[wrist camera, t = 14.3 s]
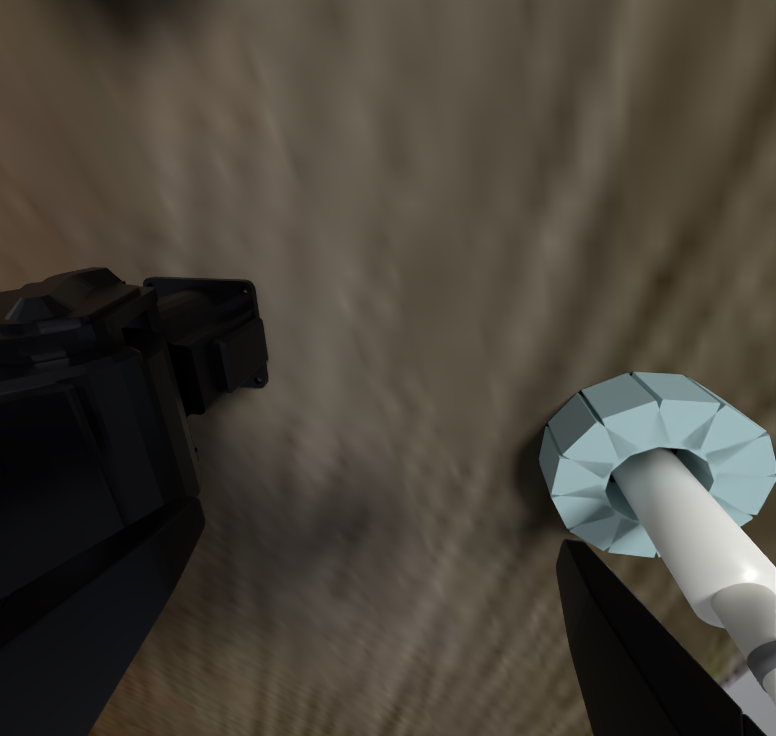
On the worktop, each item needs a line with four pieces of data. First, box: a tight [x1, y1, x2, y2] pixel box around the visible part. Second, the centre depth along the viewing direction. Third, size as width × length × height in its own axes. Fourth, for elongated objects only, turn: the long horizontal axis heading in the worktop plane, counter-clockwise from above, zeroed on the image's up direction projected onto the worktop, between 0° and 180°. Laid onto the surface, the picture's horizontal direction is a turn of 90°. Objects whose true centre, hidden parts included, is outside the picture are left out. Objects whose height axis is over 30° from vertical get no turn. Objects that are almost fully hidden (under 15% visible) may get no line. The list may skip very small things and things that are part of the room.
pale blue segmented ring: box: [539, 372, 776, 558], centre depth 20 cm, size 10×10×3 cm
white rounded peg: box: [611, 447, 776, 705], centre depth 16 cm, size 3×3×12 cm
